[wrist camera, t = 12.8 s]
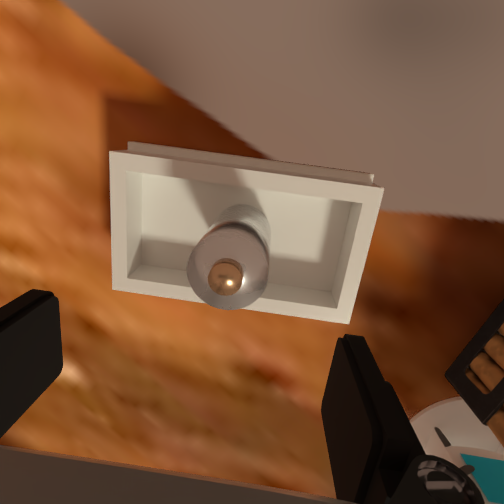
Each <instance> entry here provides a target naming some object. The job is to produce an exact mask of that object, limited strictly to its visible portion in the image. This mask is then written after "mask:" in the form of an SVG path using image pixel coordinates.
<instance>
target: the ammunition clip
mask: <svg viewBox="0 0 504 504" xmlns="http://www.w3.org/2000/svg"><path fill="white" fill-rule="evenodd" d="M445 377H446V378H447V380H448V381H449V382H450V383H451V385H452V386H453V387H454V389H455V390H456V391H457V392H458V394H459V395H460V396H461V397H462V399H463V400H464V401H465V403H466V404H467V405H468V406H469V408H470V409H471V410H472V411H473V413H474V414H475V415H476V417H477V418H478V419H479V420H480V422H481V423H482V424H483V425H485V426H488V427H489V428H490V429H491V431H492V432H493V434H494V435H495V436H496V438H497V439H498V440H499V442H500V443H501V444H502V446H503V447H504V299H503V301H502V302H501V303H500V304H499V306H498V307H497V308H496V309H495V311H494V312H493V313H492V314H491V316H490V317H489V318H488V319H487V321H486V322H485V323H484V325H483V326H482V327H481V328H480V330H479V331H478V332H477V333H476V335H475V336H474V337H473V338H472V340H471V341H470V342H469V343H468V345H467V346H466V347H465V348H464V350H463V351H462V352H461V353H460V355H459V356H458V357H457V359H456V360H455V361H454V362H453V364H452V365H451V366H450V367H449V369H448V370H447V371H446V372H445Z"/></svg>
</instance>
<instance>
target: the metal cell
mask: <svg viewBox="0 0 504 504" xmlns="http://www.w3.org/2000/svg"><path fill="white" fill-rule="evenodd" d="M270 241H271V228H270V224H269V222H268V220H267V218H266V216H265V215H264V214H263V213H262V212H261V211H260V210H258V209H257V208H255V207H253V206H250V205H246V204H237V205H233V206H230V207H228V208H226V209H225V210H223V211H222V212H221V213H220V215H219V216H218V217H217V218H216V220H215V221H214V222H213V224H212V225H211V226H210V228H209V229H208V230H207V232H206V233H205V234H204V236H203V237H202V238H201V240H200V241H199V242H198V244H197V245H196V246H195V248H194V249H193V251H192V252H191V254H190V256H189V259H188V262H187V277H188V281H189V284H190V286H191V288H192V289H193V291H194V292H195V294H196V295H197V296H198V297H199V298H200V299H201V300H203V301H204V302H205V303H207V304H209V305H211V306H213V307H216V308H219V309H224V310H235V309H240V308H244V307H246V306H249V305H250V304H252V303H254V302H255V301H256V300H257V299H258V298H259V297H260V296H261V295H262V293H263V292H264V290H265V288H266V285H267V282H268V275H269V258H270Z"/></svg>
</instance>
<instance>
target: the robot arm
mask: <svg viewBox="0 0 504 504" xmlns="http://www.w3.org/2000/svg"><path fill="white" fill-rule="evenodd" d="M62 368H63V356H62V342H61V328H60V313H59V301H58V298H57V297H55V296H54V294H53V293H52V292H50V291H43V290H37V289H32V290H30V291H28V292H26V293H24V294H23V295H21V296H19V297H18V298H16V299H14V300H13V301H11V302H9V303H8V304H6V305H4V306H3V307H1V308H0V438H1V437H2V436H3V435H4V434H5V433H6V432H7V431H8V429H9V428H10V427H11V426H12V425H13V424H14V423H15V422H16V421H17V420H18V419H19V418H20V417H21V416H22V414H23V413H24V412H25V411H26V410H27V409H28V408H29V407H30V406H31V405H32V404H33V403H34V402H35V401H36V399H37V398H38V397H39V396H40V395H41V394H42V393H43V392H44V391H45V390H46V389H47V388H48V387H49V386H50V384H51V383H52V382H53V381H54V380H55V379H56V378H57V377H58V376H59V375H60V373H61V371H62ZM321 414H322V420H323V425H324V431H325V436H326V442H327V447H328V453H329V458H330V464H331V469H332V475H333V480H334V486H335V492H336V497H337V499H334V498H329V497H325V496H319V495H314V494H309V493H303V492H297V491H291V490H286V489H280V488H274V487H269V486H263V485H257V484H251V483H244V482H238V481H232V480H226V479H219V478H213V477H207V476H201V475H194V474H188V473H182V472H175V471H169V470H163V469H156V468H150V467H143V466H137V465H130V464H124V463H118V462H111V461H105V460H98V459H91V458H85V457H78V456H72V455H65V454H59V453H52V452H45V451H38V450H32V449H25V448H18V447H11V446H4V445H0V504H485V502H484V499H483V497H482V494H481V492H480V490H479V489H478V487H477V486H476V484H475V483H474V482H473V480H472V479H471V478H470V477H469V476H468V475H467V474H466V473H465V472H464V471H462V470H461V469H460V468H458V467H457V466H456V465H454V464H453V463H451V462H449V461H447V460H445V459H443V458H440V457H437V456H434V455H426V453H425V451H424V449H423V447H422V445H421V443H420V441H419V439H418V437H417V435H416V433H415V431H414V429H413V427H412V425H411V423H410V421H409V419H408V417H407V415H406V413H405V411H404V409H403V407H402V405H401V403H400V401H399V399H398V397H397V395H396V393H395V391H394V389H393V387H392V385H391V384H390V383H389V382H387V381H385V380H384V378H383V376H382V374H381V372H380V370H379V368H378V366H377V364H376V361H375V359H374V357H373V355H372V353H371V351H370V349H369V347H368V345H367V343H366V340H365V338H364V337H363V336H356V335H349V334H345V335H344V337H343V338H338V340H337V343H336V347H335V351H334V355H333V359H332V364H331V368H330V372H329V376H328V380H327V384H326V388H325V392H324V396H323V400H322V407H321Z"/></svg>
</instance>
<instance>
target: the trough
mask: <svg viewBox="0 0 504 504" xmlns="http://www.w3.org/2000/svg"><path fill="white" fill-rule="evenodd" d="M109 165H110V208H111V251H112V290H119V291H126V292H133V293H139V294H146V295H153V296H160V297H167V298H173V299H180V300H187V301H194V302H201V303H205V302H204V301H203V300H201V299H200V298H199V297H198V296H197V295H196V294H195V292H194V291H193V289H192V288H191V286H190V284H189V281H188V277H187V262H188V259H189V256H190V254H191V252H192V251H193V249H194V248H195V246H196V245H197V244H198V242H199V241H200V240H201V238H202V237H203V236H204V234H205V233H206V232H207V230H208V229H209V228H210V226H211V225H212V224H213V222H214V221H215V220H216V218H217V217H218V216H219V215H220V213H221V212H222V211H223V210H225V209H226V208H228V207H230V206H233V205H237V204H246V205H250V206H253V207H255V208H257V209H258V210H260V211H261V212H262V213H263V214H264V215H265V216H266V218H267V220H268V222H269V224H270V228H271V241H270V258H269V275H268V282H267V285H266V288H265V290H264V292H263V293H262V295H261V296H260V297H259V298H258V299H257V300H256V301H255V302H254V303H252V304H250V305H249V306H246V307H244V308H242V309H248V310H255V311H262V312H269V313H276V314H282V315H289V316H296V317H303V318H310V319H316V320H323V321H330V322H337V323H344V324H349V322H350V318H351V315H352V311H353V307H354V303H355V299H356V295H357V292H358V288H359V284H360V280H361V276H362V273H363V269H364V265H365V261H366V257H367V253H368V250H369V246H370V242H371V238H372V234H373V230H374V227H375V223H376V219H377V215H378V211H379V208H380V204H381V200H382V196H383V192H384V188H383V187H380V186H378V185H376V184H374V183H372V182H373V178H374V175H373V174H370V173H365V172H357V171H350V170H342V169H335V168H328V167H320V166H313V165H305V164H297V163H290V162H283V161H276V160H268V159H261V158H253V157H246V156H239V155H231V154H224V153H216V152H209V151H201V150H194V149H187V148H179V147H172V146H164V145H157V144H149V143H142V142H135V141H131V142H128V150H116V151H109Z"/></svg>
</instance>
